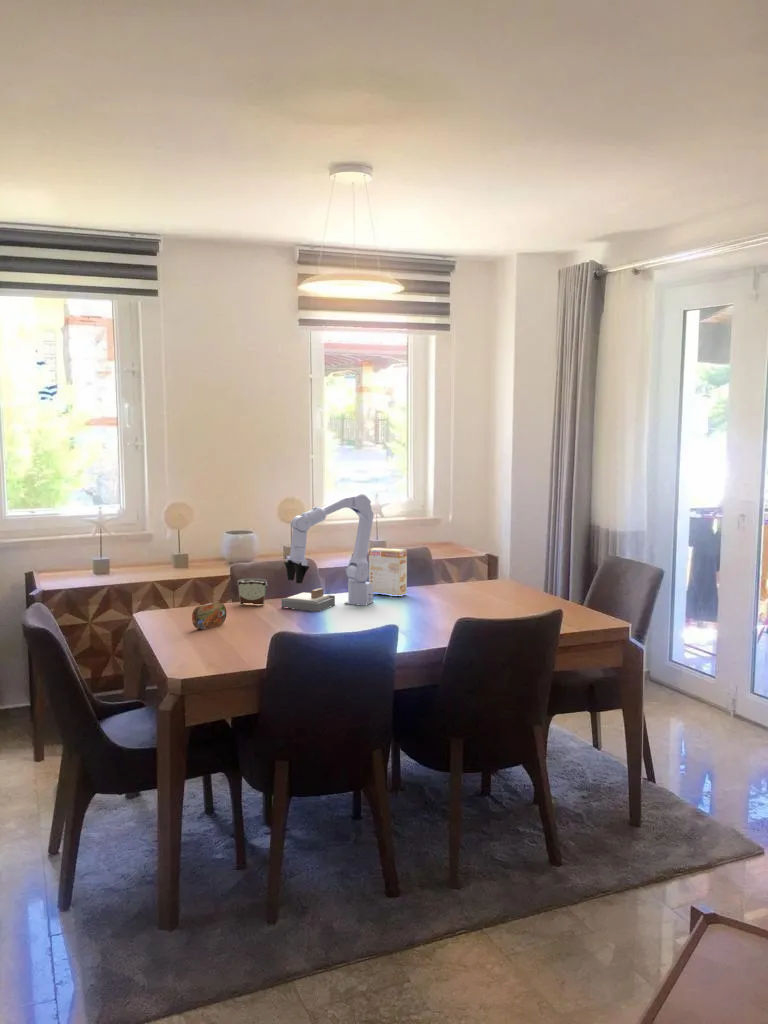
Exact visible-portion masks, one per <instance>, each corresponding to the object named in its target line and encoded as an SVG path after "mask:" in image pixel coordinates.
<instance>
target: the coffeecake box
mask: <svg viewBox="0 0 768 1024" xmlns="http://www.w3.org/2000/svg"><path fill="white" fill-rule="evenodd" d="M407 565H408V549H403V548H392V547H391V548H390V547H389V548H388V547H379V546H378V547H372V548H368V570H369V576H368V582H370V583H372V586H373V592H379V593H386V594H392V595H402V594H405V593H407V592H408V591H407V589H408V587H407V585H408V582H407V581H408V575H407V574H408V566H407Z"/></svg>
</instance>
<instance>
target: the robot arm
mask: <svg viewBox="0 0 768 1024" xmlns="http://www.w3.org/2000/svg"><path fill="white" fill-rule="evenodd" d="M371 503H372V502H371V499H369V497H368V496H367V495H365V494H363V493H361V494H360V493H355V492H351V493H348V494H346V495H343V496H342V497H340V498H338V499H336V500H334V501H333V502H331V503H329V504H327V505H325V506H323V507H321V506H313V507H312V508H311V510H310V509H309V511H306V512H302V513H301V515H295V516H294V517H293V519H292V520H291V521H290V526H291V529H292V533H291V541H290V542H291V543H290V553H289V555H286V561H284V562H283V564H284V566H285V568H286V574H287V580H288V581H294V580H295V583H296V584H303V582H304V579H305V576H306V573H307V572H308V570H309V569H310V566H309V565H308V562H309V561H308V560H307V559H306V557H305V556H306V550H307V549H306V546H307V539H308V538H307V537H308V531H309V530H310V528H311V527H313V526H315V525H317V524H319V523H321V522H323V521H324V520H326V518H327V516H328V515H331V514H333V513H335V512H338V511H339V510H341V509H344V508H345V509H346V508H347V509H350V510H352V511H353V512H355V513H356V516H358V518H359V519H358V523H357V524H358V525H357V530H356V536H355V543H354V550H353V553H352V554H353V556H352V557H351V558H350V559H349V563H348V565H347V567H346V569H345V574H346V577H348V583H347V584H348V585H347V588H348V589H347V590H348V594H347V595H348V597H347V598H348V600H347V601H345V602H344V603H348V604H347V605H354V604H359V605H358V606H367V605H366V604H368V605H370V604H372V603H371V602H373V601H374V599H373V598H374V594H373V586H372V583H370V582H369V581H367V580H368V579H369V561H368V559H367V556H368V552H369V543H370V539H371V538H370V537H371V533H372V526H373V520H374V512H373V508H372V505H371ZM369 603H370V604H369ZM373 603H374V602H373Z"/></svg>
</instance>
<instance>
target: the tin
mask: <svg viewBox="0 0 768 1024" xmlns="http://www.w3.org/2000/svg"><path fill="white" fill-rule="evenodd" d="M191 617H192V618H191V619H192V620H191V621H192V622H191V623H192V624H193V627H194V628H195V629H197V630H203V631H206V630H209V629H212V628H216V626H217V627H220V626H222V625H223V624H224V622H225V621H226V618H227V608H226V606H225V604H224V603H222V602H220V601H216V602H215V601H214V602H209V603H205V604H202V605H198V606H196V607H195V608H194V609H193V611H192V615H191ZM219 625H220V626H219ZM205 629H206V630H205Z"/></svg>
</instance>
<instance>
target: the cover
mask: <svg viewBox="0 0 768 1024" xmlns="http://www.w3.org/2000/svg"><path fill="white" fill-rule="evenodd" d="M299 593H300V594H299ZM299 593H297V594H294V595H291V596H288V597H286V599H297V600H307V601H321V600H323V599H326V598H329V597H330V594H324V588H323V587H321V588H319V587H318V588H314V589H312V590H310V592H299Z"/></svg>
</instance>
